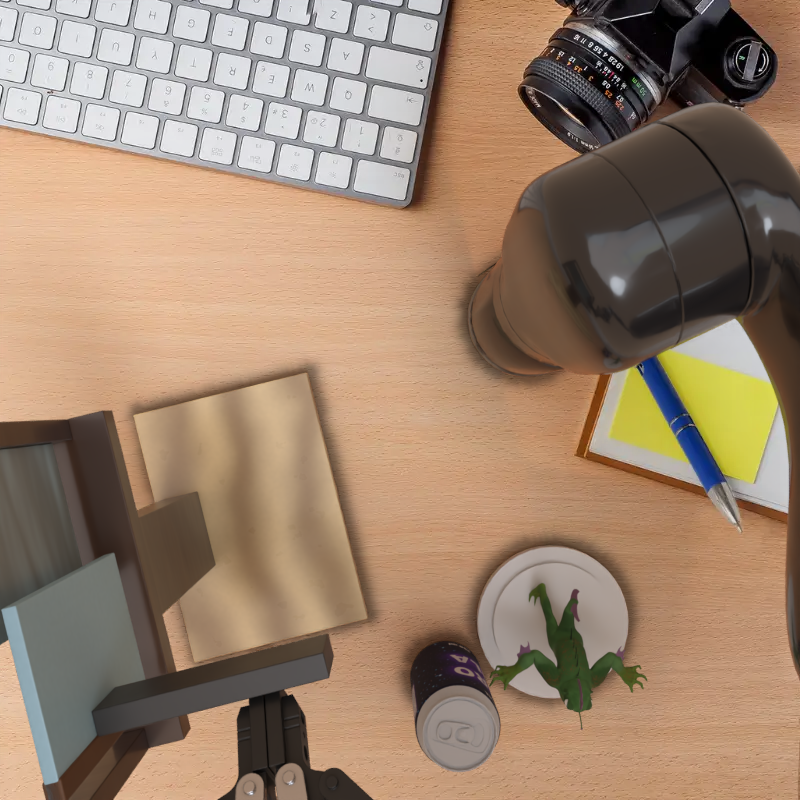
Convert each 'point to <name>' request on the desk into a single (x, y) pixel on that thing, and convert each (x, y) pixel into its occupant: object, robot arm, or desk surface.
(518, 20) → the desk surface
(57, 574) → the window frame
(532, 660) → the monster figurine
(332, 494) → the light brown wooden board
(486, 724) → the beverage can
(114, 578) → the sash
